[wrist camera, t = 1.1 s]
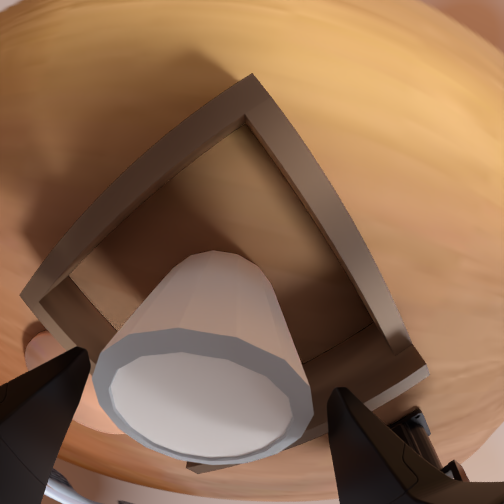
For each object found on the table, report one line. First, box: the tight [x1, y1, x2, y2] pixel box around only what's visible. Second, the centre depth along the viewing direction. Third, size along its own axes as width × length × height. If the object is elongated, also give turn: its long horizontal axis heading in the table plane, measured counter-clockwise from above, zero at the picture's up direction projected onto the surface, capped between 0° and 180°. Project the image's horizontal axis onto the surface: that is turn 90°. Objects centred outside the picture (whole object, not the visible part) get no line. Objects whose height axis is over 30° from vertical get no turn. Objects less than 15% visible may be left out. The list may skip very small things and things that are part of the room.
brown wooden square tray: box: [20, 73, 430, 474], centre depth 12 cm, size 14×14×4 cm
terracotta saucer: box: [25, 330, 126, 434], centre depth 16 cm, size 10×10×1 cm
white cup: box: [92, 250, 314, 465], centre depth 11 cm, size 7×7×7 cm
